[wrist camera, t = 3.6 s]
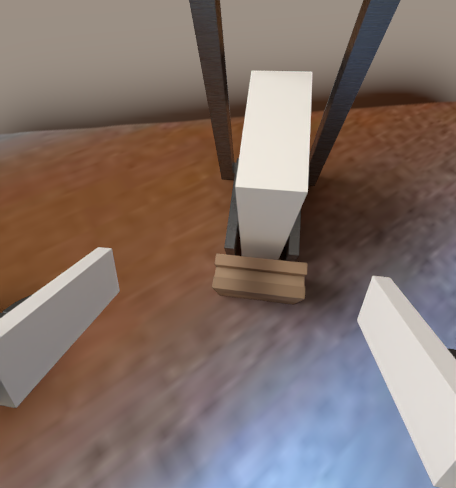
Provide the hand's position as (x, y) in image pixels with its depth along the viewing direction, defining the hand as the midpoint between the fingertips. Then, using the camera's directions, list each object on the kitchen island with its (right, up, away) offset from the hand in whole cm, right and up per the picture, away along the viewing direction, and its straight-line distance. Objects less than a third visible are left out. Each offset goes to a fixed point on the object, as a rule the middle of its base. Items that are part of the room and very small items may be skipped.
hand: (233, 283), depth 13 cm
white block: (+4, +5, +17) cm, 18 cm away
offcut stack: (+3, -3, +14) cm, 15 cm away
